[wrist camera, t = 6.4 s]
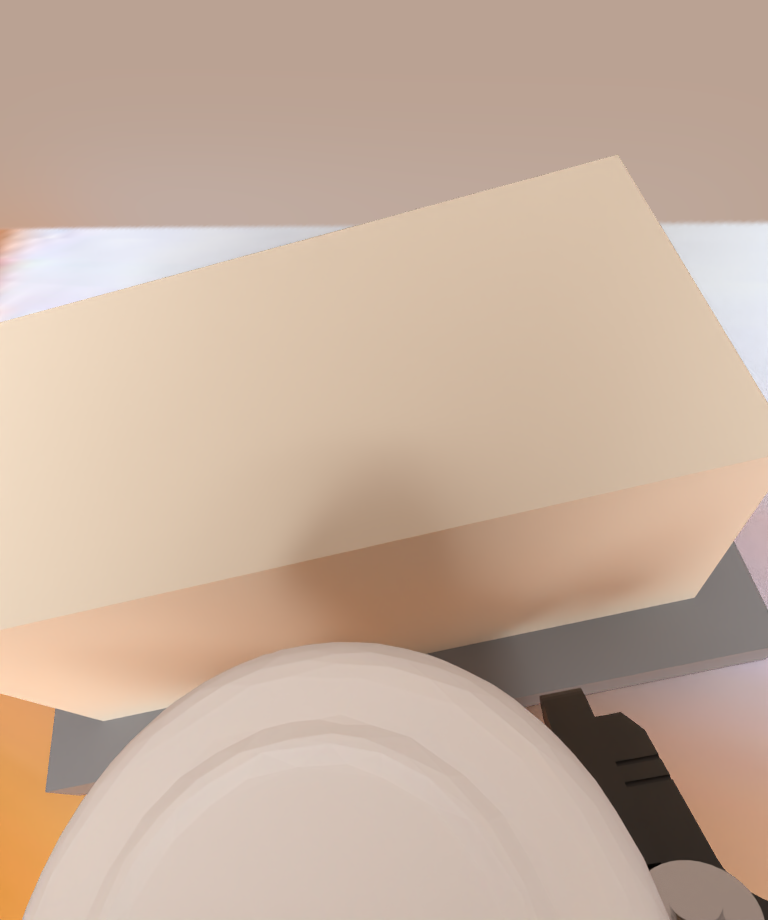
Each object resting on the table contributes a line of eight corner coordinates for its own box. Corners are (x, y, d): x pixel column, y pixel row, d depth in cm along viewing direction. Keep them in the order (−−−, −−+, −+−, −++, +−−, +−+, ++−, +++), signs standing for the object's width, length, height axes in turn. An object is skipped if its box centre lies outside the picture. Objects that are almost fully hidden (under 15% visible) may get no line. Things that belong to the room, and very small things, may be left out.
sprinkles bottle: (360, 944, 15) (-214, 1261, 4) (428, 747, 17) (189, 553, 5) (554, 1056, 13) (612, 2309, 2) (606, 823, 15) (787, 770, 4)
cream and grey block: (616, 344, 22) (659, 99, 15) (765, 659, 16) (958, 513, 9) (110, 469, 24) (-77, 304, 16) (79, 795, 18) (-234, 767, 11)
